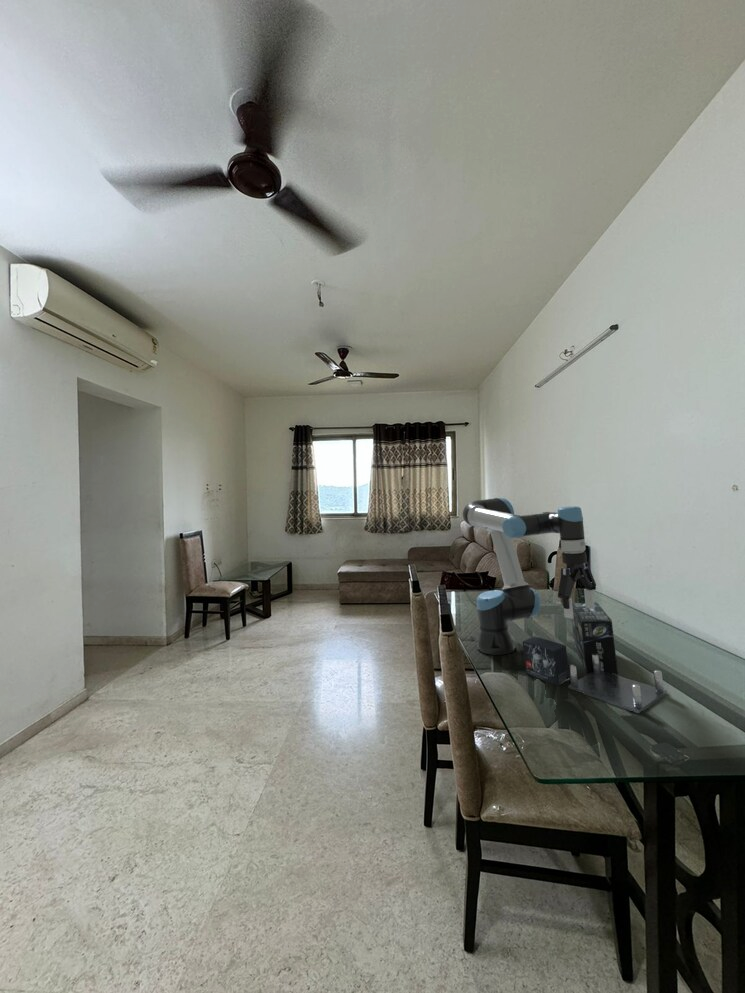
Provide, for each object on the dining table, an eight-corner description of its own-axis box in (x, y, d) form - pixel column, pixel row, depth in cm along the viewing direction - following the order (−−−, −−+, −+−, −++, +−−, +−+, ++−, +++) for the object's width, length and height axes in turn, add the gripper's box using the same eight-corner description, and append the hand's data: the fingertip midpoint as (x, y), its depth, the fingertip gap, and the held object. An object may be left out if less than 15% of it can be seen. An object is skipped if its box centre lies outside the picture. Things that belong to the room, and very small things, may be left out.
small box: (525, 674, 142) (521, 640, 143) (537, 668, 146) (534, 635, 146) (557, 686, 131) (553, 650, 131) (570, 680, 134) (566, 644, 135)
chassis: (568, 688, 129) (566, 666, 129) (597, 672, 138) (595, 652, 138) (638, 714, 111) (635, 689, 111) (667, 693, 120) (664, 670, 120)
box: (619, 675, 135) (612, 619, 135) (586, 674, 138) (580, 620, 138) (602, 649, 157) (597, 601, 157) (574, 649, 160) (569, 602, 160)
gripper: (563, 558, 127) (570, 624, 127) (603, 546, 141) (609, 606, 141) (542, 556, 133) (548, 619, 133) (582, 545, 147) (587, 602, 147)
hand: (579, 612), depth 137 cm, fingers open, 13 cm apart
